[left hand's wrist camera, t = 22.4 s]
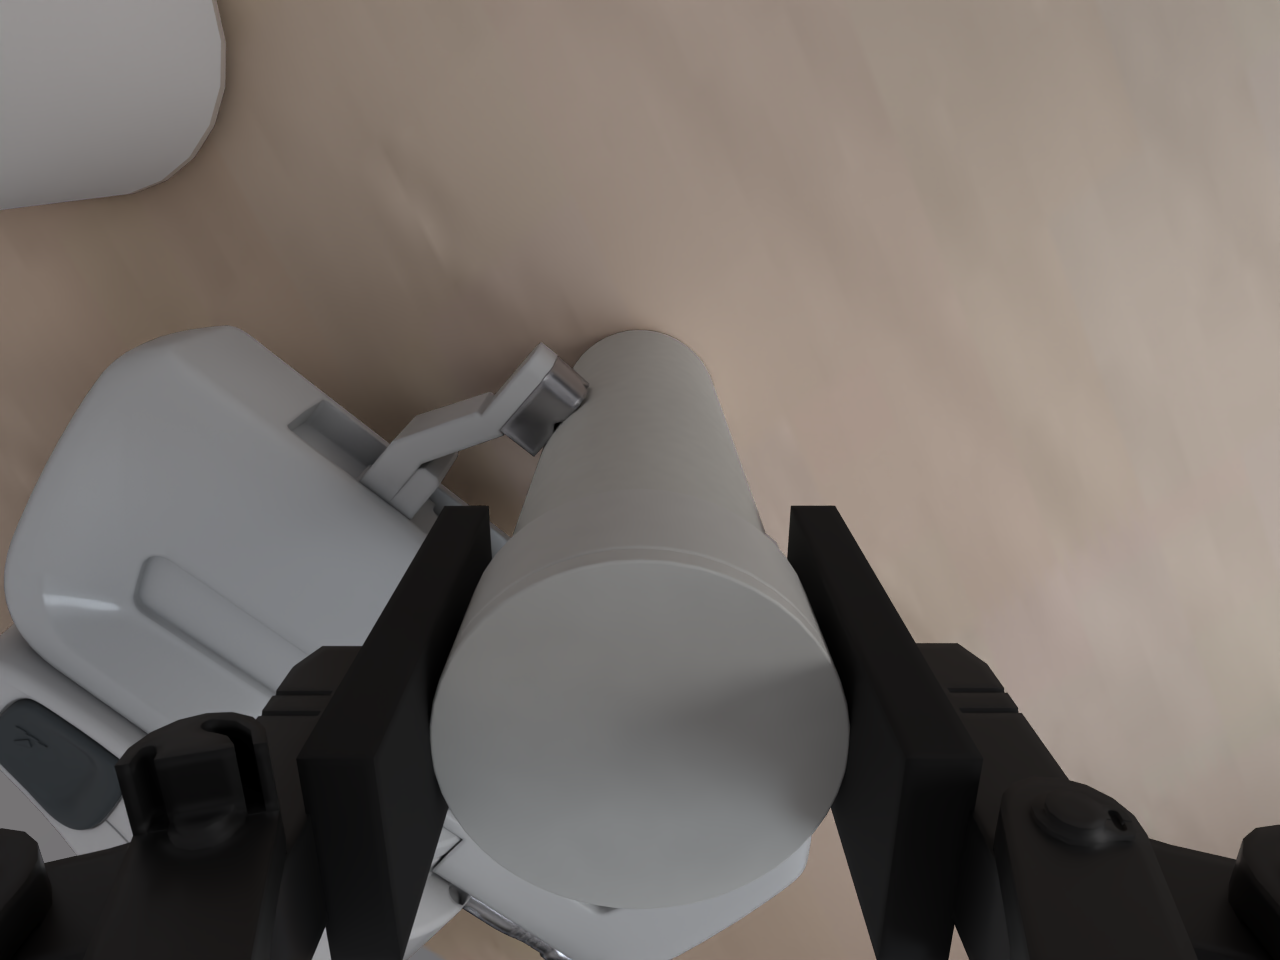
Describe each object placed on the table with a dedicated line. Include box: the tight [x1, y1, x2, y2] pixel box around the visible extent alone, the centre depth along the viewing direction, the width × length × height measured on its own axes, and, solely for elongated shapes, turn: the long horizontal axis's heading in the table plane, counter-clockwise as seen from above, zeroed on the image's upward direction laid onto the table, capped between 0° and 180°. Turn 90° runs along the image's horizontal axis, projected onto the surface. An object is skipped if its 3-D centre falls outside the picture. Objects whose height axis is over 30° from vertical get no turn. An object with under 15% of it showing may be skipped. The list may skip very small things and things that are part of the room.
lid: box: [429, 489, 850, 909], centre depth 11 cm, size 5×5×2 cm
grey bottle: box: [512, 330, 766, 537], centre depth 18 cm, size 5×5×16 cm
